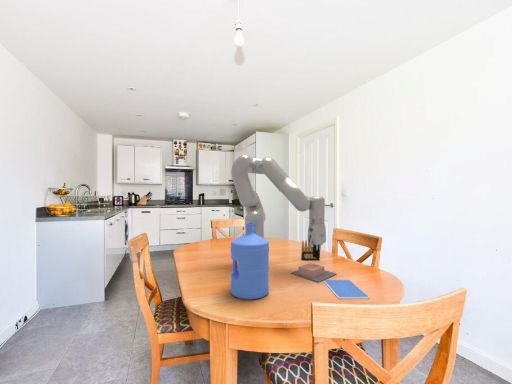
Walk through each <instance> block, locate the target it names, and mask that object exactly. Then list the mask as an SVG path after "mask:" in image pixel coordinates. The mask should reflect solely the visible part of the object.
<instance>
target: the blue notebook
mask: <svg viewBox="0 0 512 384" xmlns="http://www.w3.org/2000/svg"><path fill="white" fill-rule="evenodd" d="M323 283H324V284H325V285H326V286H327V288H329V290H330V291H331V292H332V294H333V295H334V296H335V297H336V298H337V299H338V300H369V299H370V296H369V295H368V294H366V293H365V292H364V291H363V290H362V289H360V288H359V287H358V286H357V285H356V284H355V283H354V282H352V281H351V280H349V279H326V280H324V281H323Z"/></svg>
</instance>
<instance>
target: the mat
mask: <svg viewBox="0 0 512 384" xmlns="http://www.w3.org/2000/svg"><path fill="white" fill-rule="evenodd" d="M290 274H291V275H293V276H297V277H300V278H303V279H306V280H309V281H312V282H315V283H321V282H324V280H329V279H331V278H332V277H335V276H337V273H336V272H333V271H329V270H325V269H324V274H322V275H320V276H317V277H315V278H310V277H306V276H303V275H300V274H299V269H296V270H294V271H292V272H290Z"/></svg>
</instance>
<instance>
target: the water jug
mask: <svg viewBox="0 0 512 384" xmlns="http://www.w3.org/2000/svg"><path fill="white" fill-rule="evenodd" d="M246 225H247V227H246V234H245V233H244V234H242V235H240V236H238V237H236V238H234V239H232V240H231V242H230V259H231V260H232V272H231V274H230V289H229V290H230V294H231V295H232V296H234V297H235V298H238V299H240V300H257V299H262V298H264V297H265V296H267V295H268V294H269V291H270V289H269V287H270V285H269V276H270V275H269V273H270V265H269V263H270V261H269V259H270V255H269V253H270V245H269V240H268V239H266V238H265V237H264V238H262V237H260V236H258V235H256V234H254V223H246ZM238 266H239V269H238Z"/></svg>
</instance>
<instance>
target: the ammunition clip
mask: <svg viewBox="0 0 512 384" xmlns="http://www.w3.org/2000/svg"><path fill="white" fill-rule="evenodd" d="M300 255H301V256H300V260H301V261H304V262H305V261H315V262H316V261H318V262H320V259H321V258H315V257H313V249H312V247H309V243H308V240H305V242H304V240H302V243H301V254H300Z"/></svg>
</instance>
